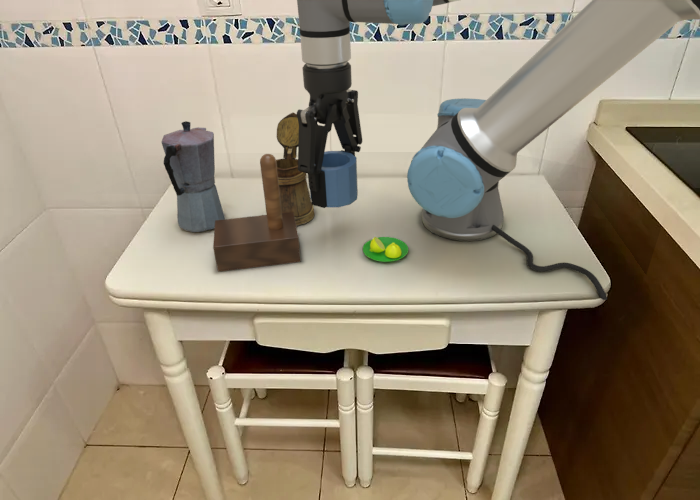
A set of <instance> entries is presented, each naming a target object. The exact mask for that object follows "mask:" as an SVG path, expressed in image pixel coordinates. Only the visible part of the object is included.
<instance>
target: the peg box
mask: <svg viewBox="0 0 700 500" xmlns="http://www.w3.org/2000/svg"><path fill="white" fill-rule="evenodd" d="M276 160H277V159H276V157H275V156H274V154H272V153H265V154H263V155H262V156H261V157H260V159H259V165H260V166H259V167H260V175H261V181H262V189H263V197H264V203H265V204H264V205H265V211H266V212H265V213H266V214H264V215H263V214H262V215H253V216H245V217H235V218H225V219H224V220H215V228H214V229H213V231H214V232H213V244H212V249H213V253H214V258H215V264H216V268H217V272H218V273H219V272H228V271H236V270H244V269H252V268H259V267H268V266H277V265H287V264H295V263H300V262H301V250H300V239H299V233H298V228H297V226H296V222H295V217H294V212H289V213H282V209H281V200H280V191H279V181H278V172H277V163H276Z"/></svg>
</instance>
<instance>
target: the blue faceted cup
mask: <svg viewBox="0 0 700 500" xmlns="http://www.w3.org/2000/svg"><path fill="white" fill-rule="evenodd" d="M343 151H344V150H343ZM343 151H341V150H327V151H326V150H325V152H324V157H323V163H322V168H321V171H325V183H326V198H327V207H326V208H342V207H346V206H350V205H352V204H353V203H354V202H355V201H357V200H358V194H359V192H358V191H359V190H358V165H357V164H358V163H357V159H358V158H357V157H356V155H355V156H354V155H352V154H351V153H348V152H343ZM309 194H310V197H311V190H310V189H309Z"/></svg>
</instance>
